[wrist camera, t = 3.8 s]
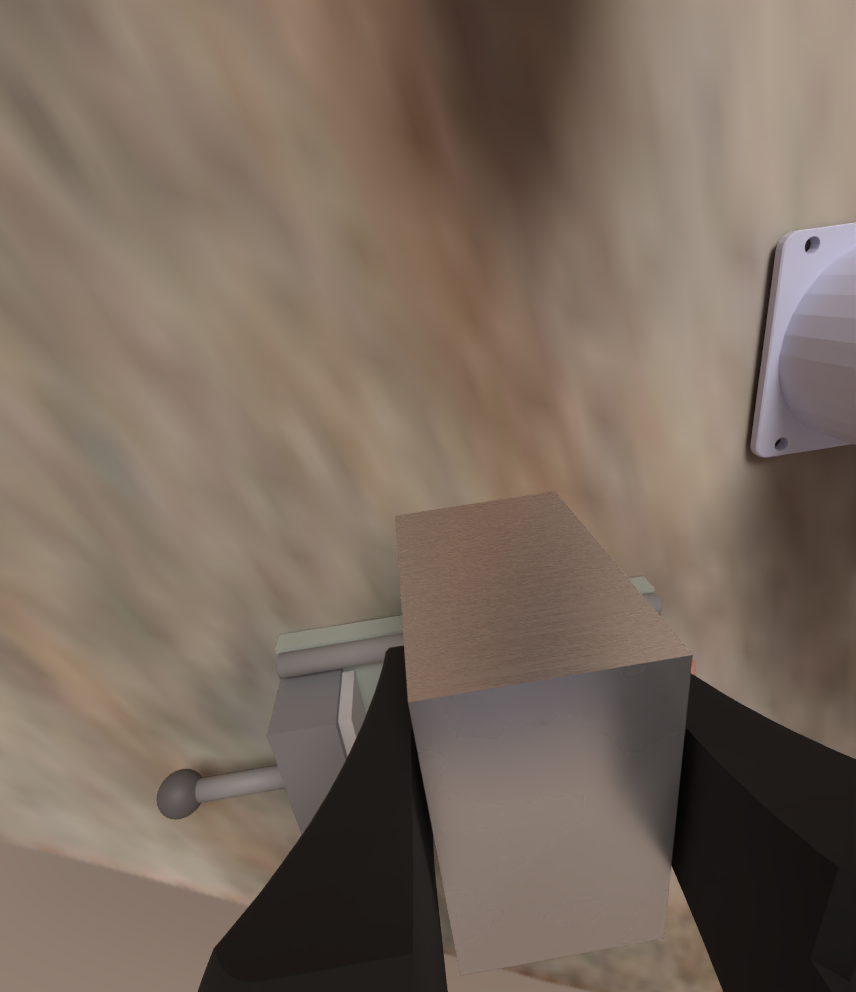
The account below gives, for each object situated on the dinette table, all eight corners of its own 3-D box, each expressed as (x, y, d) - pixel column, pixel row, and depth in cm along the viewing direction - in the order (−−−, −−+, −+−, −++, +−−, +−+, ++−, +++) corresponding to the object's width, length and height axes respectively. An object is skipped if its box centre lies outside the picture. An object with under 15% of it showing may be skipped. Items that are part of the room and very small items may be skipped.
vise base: (643, 574, 22) (698, 635, 18) (635, 741, 26) (679, 820, 22) (145, 654, 22) (94, 736, 18) (215, 813, 26) (186, 908, 22)
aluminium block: (554, 491, 13) (691, 654, 7) (561, 702, 15) (663, 938, 10) (394, 516, 12) (408, 702, 7) (430, 724, 15) (460, 976, 10)
